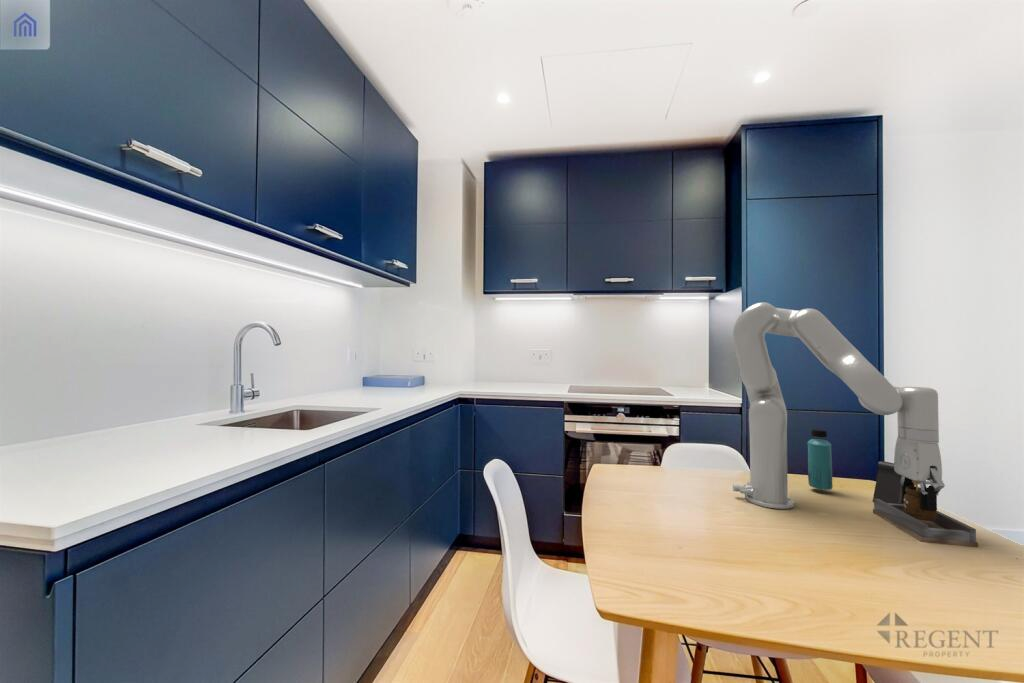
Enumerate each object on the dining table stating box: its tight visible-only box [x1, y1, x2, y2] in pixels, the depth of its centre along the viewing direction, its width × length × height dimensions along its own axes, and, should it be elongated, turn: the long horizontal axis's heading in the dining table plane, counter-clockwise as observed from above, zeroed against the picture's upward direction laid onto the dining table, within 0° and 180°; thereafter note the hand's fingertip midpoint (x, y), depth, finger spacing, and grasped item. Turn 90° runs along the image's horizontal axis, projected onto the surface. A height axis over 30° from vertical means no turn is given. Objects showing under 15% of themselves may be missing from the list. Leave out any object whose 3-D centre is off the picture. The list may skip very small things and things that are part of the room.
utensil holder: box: [904, 480, 936, 521], centre depth 104 cm, size 6×6×12 cm
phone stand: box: [872, 460, 904, 504], centre depth 121 cm, size 9×6×12 cm, turn 111°
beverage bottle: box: [807, 428, 834, 491], centre depth 132 cm, size 6×7×20 cm
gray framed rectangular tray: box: [872, 499, 979, 548], centre depth 104 cm, size 11×18×4 cm, turn 166°
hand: (918, 504), depth 104 cm, fingers closed on utensil holder, 5 cm apart
